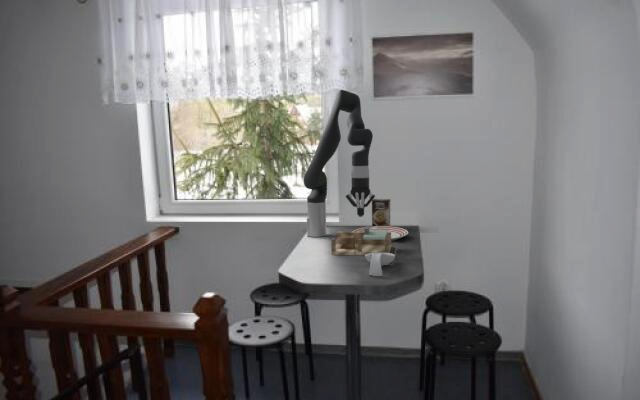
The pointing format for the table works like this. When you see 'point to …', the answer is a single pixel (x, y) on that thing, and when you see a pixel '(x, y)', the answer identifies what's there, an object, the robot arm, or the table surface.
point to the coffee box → (380, 212)
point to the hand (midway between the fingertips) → (360, 216)
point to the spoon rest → (378, 262)
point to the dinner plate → (395, 231)
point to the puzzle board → (361, 244)
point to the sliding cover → (374, 234)
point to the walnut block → (348, 242)
